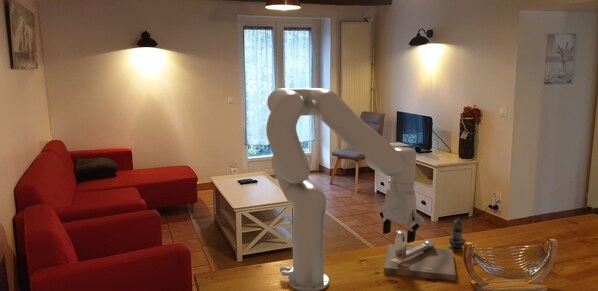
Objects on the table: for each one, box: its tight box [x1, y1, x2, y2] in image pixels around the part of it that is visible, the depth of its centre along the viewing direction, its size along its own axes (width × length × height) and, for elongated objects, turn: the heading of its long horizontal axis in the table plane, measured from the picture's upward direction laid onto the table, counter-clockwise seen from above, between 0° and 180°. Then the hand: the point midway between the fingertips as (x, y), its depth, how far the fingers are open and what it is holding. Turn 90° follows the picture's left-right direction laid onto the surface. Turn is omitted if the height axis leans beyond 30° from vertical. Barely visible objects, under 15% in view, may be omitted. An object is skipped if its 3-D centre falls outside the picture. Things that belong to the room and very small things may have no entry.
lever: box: [394, 229, 436, 260], centre depth 159 cm, size 20×4×9 cm, turn 131°
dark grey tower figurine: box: [448, 217, 466, 253], centre depth 170 cm, size 6×6×12 cm
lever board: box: [383, 243, 457, 282], centre depth 159 cm, size 22×20×3 cm
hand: (398, 237), depth 153 cm, fingers open, 9 cm apart
